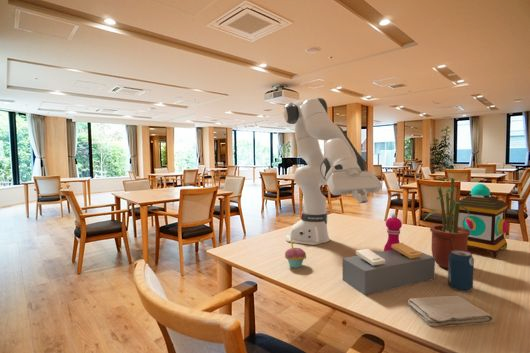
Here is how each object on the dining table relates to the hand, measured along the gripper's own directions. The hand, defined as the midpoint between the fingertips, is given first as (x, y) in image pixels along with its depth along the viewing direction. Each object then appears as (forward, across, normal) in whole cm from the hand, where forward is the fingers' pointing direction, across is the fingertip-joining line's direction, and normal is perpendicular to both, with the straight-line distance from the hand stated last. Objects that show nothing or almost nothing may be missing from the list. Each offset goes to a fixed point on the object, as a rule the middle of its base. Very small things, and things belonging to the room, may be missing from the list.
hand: (364, 202), depth 101 cm
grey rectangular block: (+22, -9, -18) cm, 30 cm away
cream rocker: (+15, -1, -11) cm, 19 cm away
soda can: (+31, -27, -8) cm, 42 cm away
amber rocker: (+15, -17, -11) cm, 25 cm away
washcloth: (+38, -9, -2) cm, 39 cm away
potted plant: (+19, -40, -20) cm, 48 cm away
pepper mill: (+13, -23, -27) cm, 38 cm away
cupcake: (+6, +16, -36) cm, 39 cm away
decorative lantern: (+14, -69, -24) cm, 74 cm away
